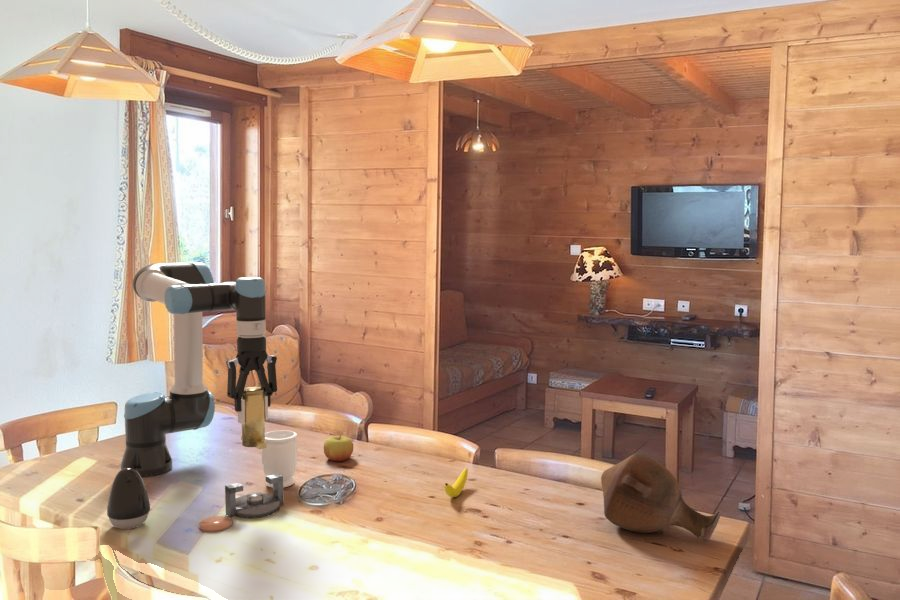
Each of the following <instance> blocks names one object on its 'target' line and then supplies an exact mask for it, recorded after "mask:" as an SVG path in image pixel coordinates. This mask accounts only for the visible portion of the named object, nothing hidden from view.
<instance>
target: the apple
mask: <svg viewBox="0 0 900 600" xmlns="http://www.w3.org/2000/svg"><path fill="white" fill-rule="evenodd" d="M323 453H324V455H325V458H326V459H328V460H330V461H332V462H345V461H347V460H348V459H350V457H351V456H352V455H353V453H354V443H353V440H351V438H350V437H347V436H345V435H333V436H330V437H328V438H326V440H325V441H324V443H323Z"/></svg>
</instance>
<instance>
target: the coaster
mask: <svg viewBox="0 0 900 600" xmlns="http://www.w3.org/2000/svg"><path fill="white" fill-rule="evenodd" d="M232 525H233V522H232V518H230V517H229V516H227V515H225V516H224V515H214V516H208V517H206V518H204V519H201V520H200V521H199V523H198V528H199V529H200V530H201V531H202V532H207V533H213V532H214V533H215V532H222V531H225V530H227V529H229V528H231V526H232Z"/></svg>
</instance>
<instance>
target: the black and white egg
mask: <svg viewBox="0 0 900 600" xmlns="http://www.w3.org/2000/svg"><path fill="white" fill-rule="evenodd" d="M150 510H151V502H150V499H149V494H148V491H147V487H146V485H145V482H144V480H143V477H141V476H140V474H139V473H138V472H137V471H136V470H135V469H133V468H124V469H122V470H121V469H120V470H119V471H118V472H117V473H116V475H115V477H114V478H113V481H112V484H111V487H110V491H109V495H108V499H107V508H106V515H107V517H108V519H109V521H110V523H111V524H112V525H113V527H115V528H117V529H121V530H131V529H135V528H138V527H140V526H141V525H143V524H144V523H145V522H146V520H147V518H148V516H149V513H150V512H151V511H150Z"/></svg>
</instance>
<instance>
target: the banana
mask: <svg viewBox="0 0 900 600" xmlns="http://www.w3.org/2000/svg"><path fill="white" fill-rule="evenodd" d="M468 470H469V469H468V467H466V468H464V469H463V470H462V472H460V474H459V476H458V477H457V479H456V480H455V481H454V483H453V484H452V485H450V484H448V482H445V486H444V491H445V494H446V495H447V496H448V497H450V498H456V497H458V496H459V495H461V493H462V491H463V489H465V488H464V487H465V485H466V482H467V480H468Z"/></svg>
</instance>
